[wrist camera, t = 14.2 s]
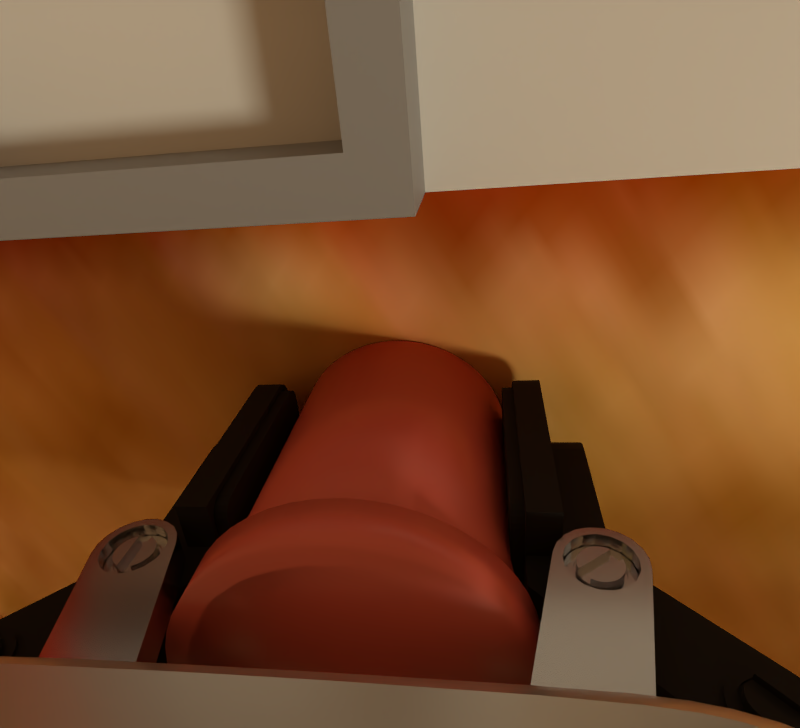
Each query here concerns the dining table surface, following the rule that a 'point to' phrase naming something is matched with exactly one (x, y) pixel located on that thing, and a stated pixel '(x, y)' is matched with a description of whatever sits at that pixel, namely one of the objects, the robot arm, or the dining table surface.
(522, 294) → the dining table surface
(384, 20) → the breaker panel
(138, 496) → the dining table surface
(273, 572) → the cap
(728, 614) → the dining table surface
